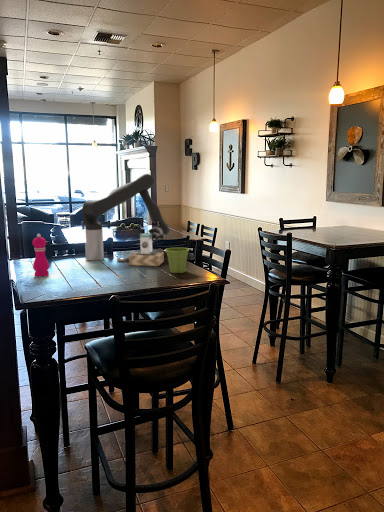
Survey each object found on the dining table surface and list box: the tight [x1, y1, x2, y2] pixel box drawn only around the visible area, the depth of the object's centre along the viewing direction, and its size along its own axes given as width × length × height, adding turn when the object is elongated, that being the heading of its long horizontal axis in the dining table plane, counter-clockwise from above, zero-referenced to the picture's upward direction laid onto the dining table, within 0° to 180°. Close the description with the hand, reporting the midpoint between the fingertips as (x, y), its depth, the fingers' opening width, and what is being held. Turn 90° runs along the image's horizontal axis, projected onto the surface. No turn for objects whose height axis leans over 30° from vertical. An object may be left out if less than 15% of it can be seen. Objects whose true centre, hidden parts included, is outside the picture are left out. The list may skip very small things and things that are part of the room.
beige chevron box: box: [128, 251, 165, 267], centre depth 224 cm, size 16×13×5 cm
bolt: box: [117, 255, 130, 263], centre depth 228 cm, size 8×3×3 cm, turn 103°
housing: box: [139, 233, 153, 254], centre depth 222 cm, size 5×7×10 cm
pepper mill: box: [32, 233, 50, 278], centre depth 195 cm, size 7×7×20 cm
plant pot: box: [164, 247, 190, 274], centre depth 201 cm, size 12×12×11 cm
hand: (148, 237), depth 227 cm, fingers open, 8 cm apart
